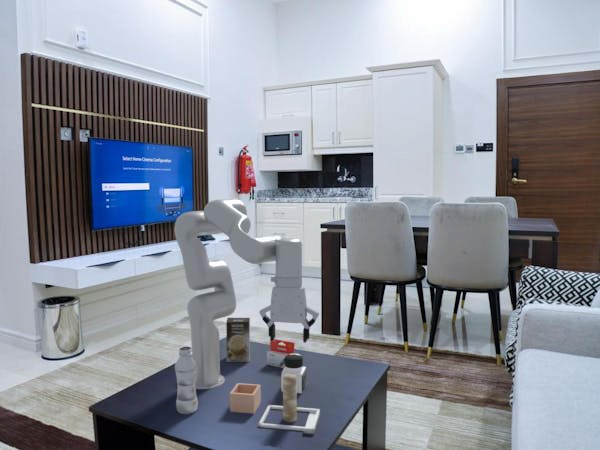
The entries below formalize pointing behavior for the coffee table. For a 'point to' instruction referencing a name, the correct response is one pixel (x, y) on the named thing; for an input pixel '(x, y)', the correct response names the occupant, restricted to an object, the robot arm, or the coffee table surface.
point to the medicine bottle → (295, 370)
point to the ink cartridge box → (279, 352)
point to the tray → (308, 428)
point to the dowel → (289, 397)
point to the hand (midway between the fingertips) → (289, 340)
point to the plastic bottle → (186, 382)
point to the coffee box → (238, 339)
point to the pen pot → (245, 398)
